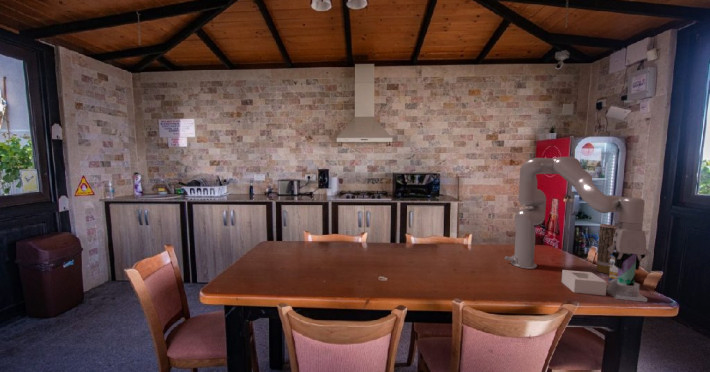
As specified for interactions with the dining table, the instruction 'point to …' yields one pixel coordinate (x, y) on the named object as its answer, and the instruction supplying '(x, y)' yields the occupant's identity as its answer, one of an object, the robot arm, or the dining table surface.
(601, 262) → the wooden log
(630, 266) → the spray can
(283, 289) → the dining table surface
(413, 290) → the dining table surface
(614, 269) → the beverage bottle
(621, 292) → the v-block
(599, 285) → the bore block
